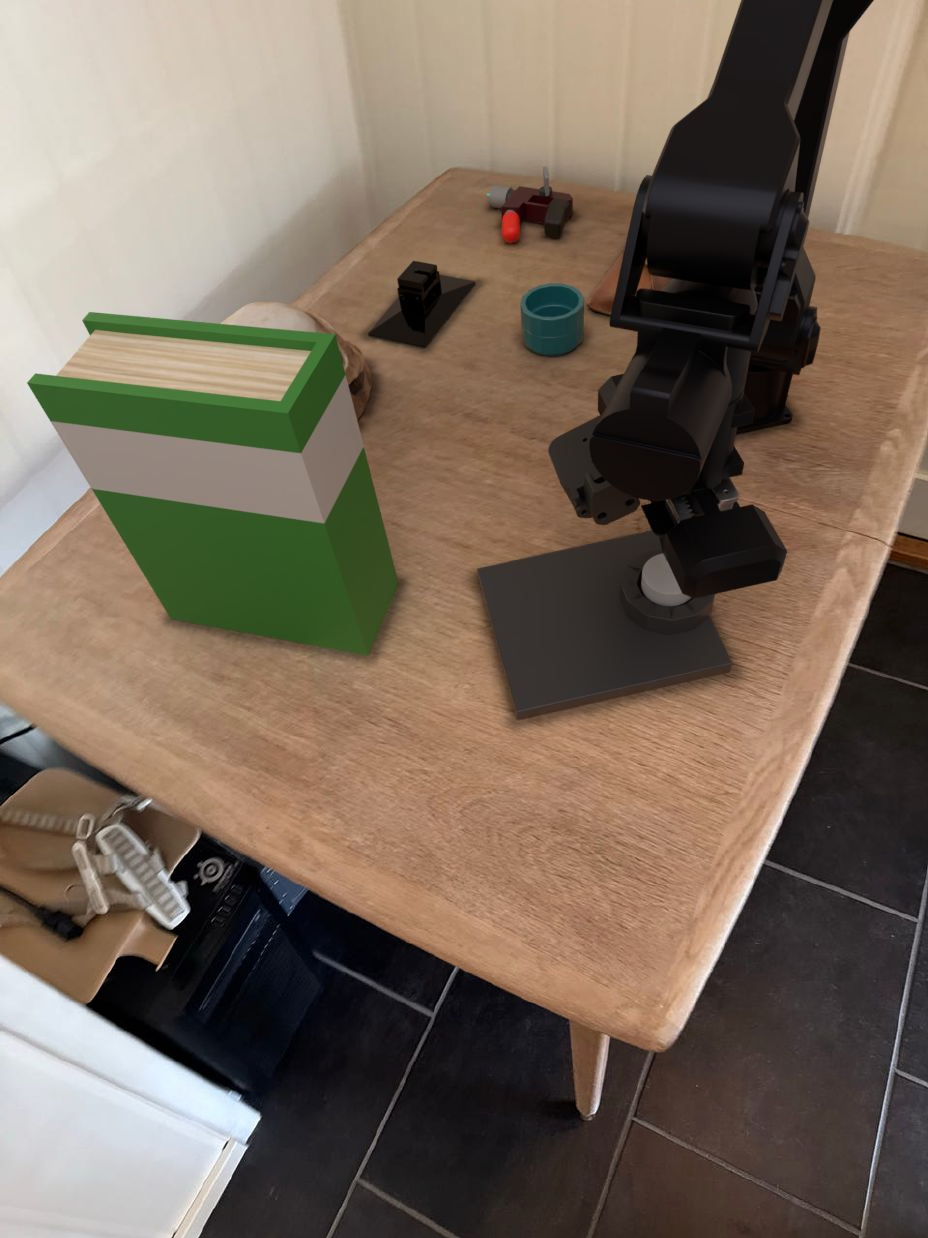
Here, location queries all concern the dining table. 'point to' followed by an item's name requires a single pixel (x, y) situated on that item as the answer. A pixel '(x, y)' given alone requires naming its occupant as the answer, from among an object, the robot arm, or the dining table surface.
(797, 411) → the dining table surface
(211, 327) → the hardback book
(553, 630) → the dark grey button base
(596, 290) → the sunglasses case
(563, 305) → the bowl
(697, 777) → the dining table surface
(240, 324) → the coin bank
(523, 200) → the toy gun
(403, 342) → the build plate
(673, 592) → the button
